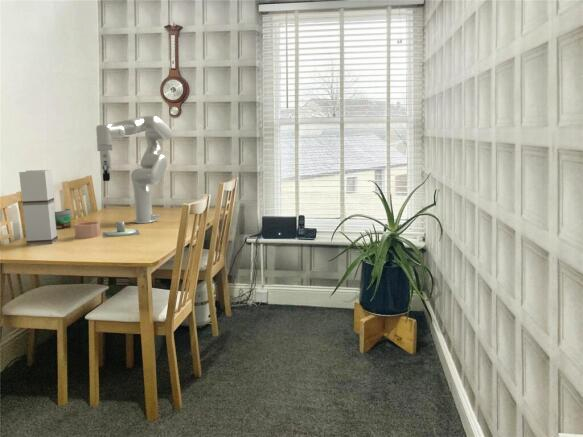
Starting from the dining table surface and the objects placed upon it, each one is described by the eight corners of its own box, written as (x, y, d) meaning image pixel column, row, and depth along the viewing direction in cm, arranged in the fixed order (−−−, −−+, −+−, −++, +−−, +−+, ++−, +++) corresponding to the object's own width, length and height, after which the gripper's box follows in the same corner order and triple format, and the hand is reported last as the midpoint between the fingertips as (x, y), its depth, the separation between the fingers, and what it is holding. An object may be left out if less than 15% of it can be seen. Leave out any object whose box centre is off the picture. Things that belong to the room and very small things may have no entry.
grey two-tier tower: (57, 239, 266) (51, 169, 260) (52, 243, 255) (44, 171, 250) (33, 240, 264) (26, 170, 258) (26, 245, 253) (19, 172, 248)
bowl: (100, 233, 278) (99, 220, 277) (101, 237, 267) (99, 224, 266) (76, 235, 274) (74, 222, 273) (75, 240, 263) (74, 226, 262)
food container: (64, 229, 293) (62, 212, 291) (54, 229, 294) (52, 211, 293) (77, 225, 305) (76, 208, 303) (68, 225, 306) (66, 208, 305)
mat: (137, 230, 285) (137, 229, 285) (140, 235, 270) (140, 234, 270) (102, 233, 279) (102, 232, 279) (103, 238, 264) (103, 237, 264)
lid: (135, 229, 284) (134, 218, 283) (137, 234, 270) (136, 223, 269) (105, 232, 279) (104, 221, 278) (106, 237, 265) (105, 225, 264)
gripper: (111, 148, 275) (113, 181, 277) (112, 148, 291) (114, 179, 293) (96, 148, 273) (98, 181, 275) (98, 148, 289) (99, 179, 291)
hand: (106, 180), depth 284 cm, fingers open, 9 cm apart
